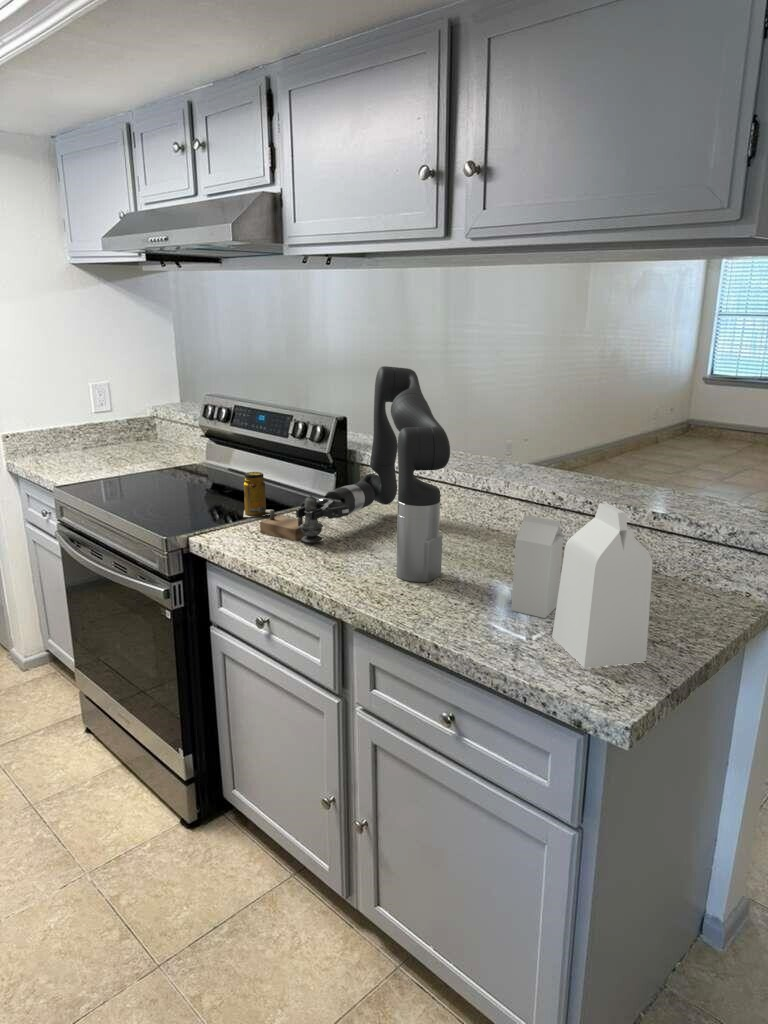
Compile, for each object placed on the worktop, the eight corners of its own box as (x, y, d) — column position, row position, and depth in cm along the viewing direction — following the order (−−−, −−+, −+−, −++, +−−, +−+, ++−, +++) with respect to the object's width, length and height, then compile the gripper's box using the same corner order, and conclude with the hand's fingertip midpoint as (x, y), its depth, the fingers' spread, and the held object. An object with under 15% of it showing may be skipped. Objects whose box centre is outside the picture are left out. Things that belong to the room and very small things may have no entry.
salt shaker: (312, 544, 178) (311, 497, 175) (295, 539, 182) (293, 493, 179) (328, 538, 183) (327, 492, 180) (311, 534, 186) (310, 489, 183)
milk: (551, 638, 131) (563, 500, 124) (609, 633, 133) (623, 497, 126) (584, 669, 119) (599, 519, 112) (645, 663, 122) (664, 516, 115)
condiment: (243, 511, 210) (242, 470, 207) (273, 510, 212) (272, 470, 209) (243, 517, 204) (241, 476, 200) (273, 517, 205) (272, 475, 202)
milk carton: (545, 619, 139) (553, 525, 134) (510, 611, 142) (517, 519, 137) (557, 607, 145) (565, 516, 140) (524, 599, 148) (530, 510, 143)
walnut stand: (312, 534, 189) (312, 514, 188) (295, 540, 184) (295, 520, 182) (277, 526, 196) (277, 507, 194) (260, 532, 190) (259, 512, 188)
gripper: (323, 483, 195) (281, 496, 181) (366, 490, 187) (326, 504, 173) (323, 510, 197) (282, 525, 183) (366, 518, 189) (326, 534, 175)
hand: (304, 514), depth 178 cm, fingers closed on salt shaker, 3 cm apart
